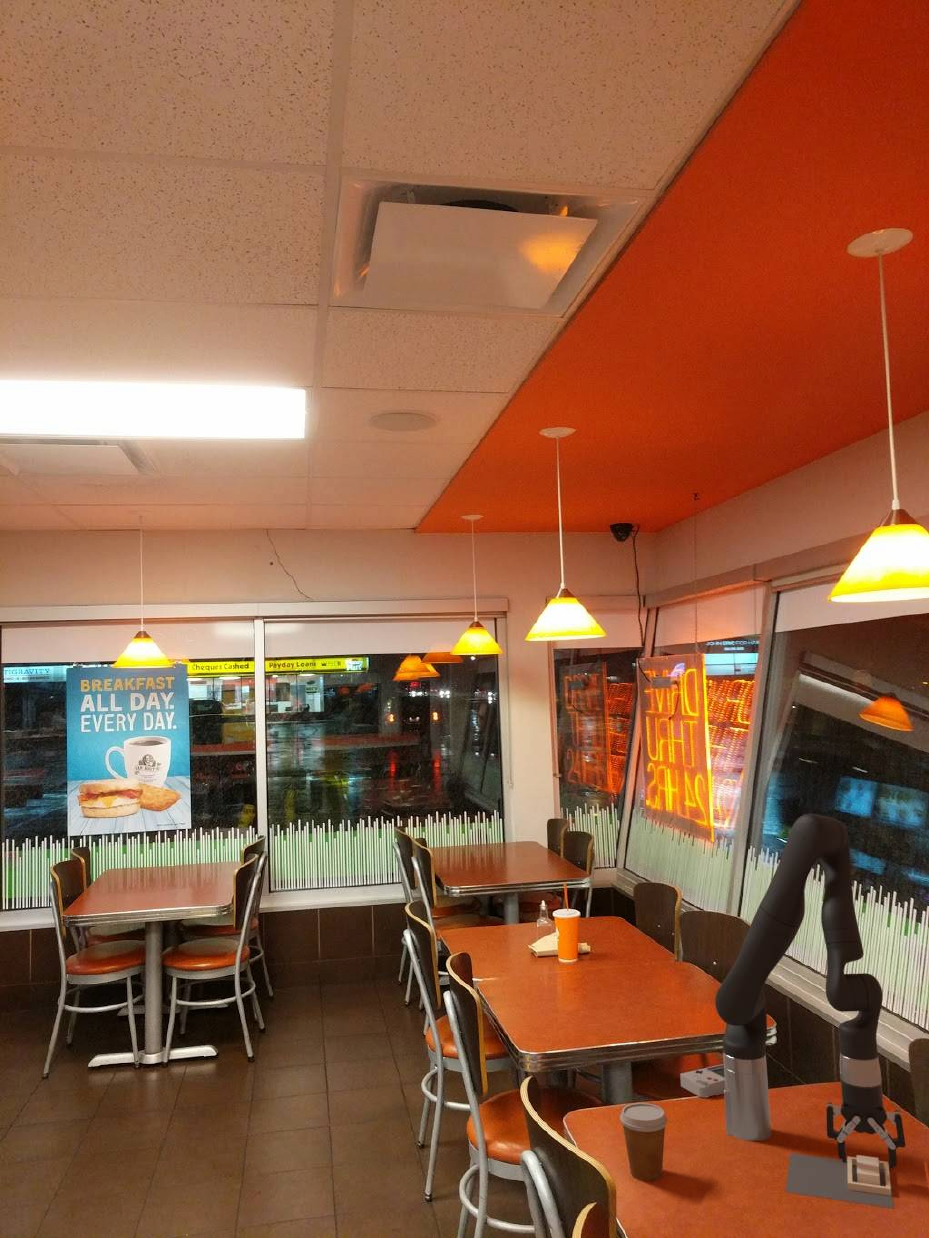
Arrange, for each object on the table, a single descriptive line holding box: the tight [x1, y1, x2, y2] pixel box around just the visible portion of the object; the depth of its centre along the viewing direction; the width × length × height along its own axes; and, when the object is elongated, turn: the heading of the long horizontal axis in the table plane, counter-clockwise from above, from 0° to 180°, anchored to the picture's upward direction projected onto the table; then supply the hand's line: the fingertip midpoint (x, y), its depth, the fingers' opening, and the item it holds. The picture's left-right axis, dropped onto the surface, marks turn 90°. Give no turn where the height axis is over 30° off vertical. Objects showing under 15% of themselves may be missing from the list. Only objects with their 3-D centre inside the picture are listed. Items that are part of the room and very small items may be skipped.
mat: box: [785, 1152, 895, 1210], centre depth 180 cm, size 19×17×2 cm
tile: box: [856, 1154, 880, 1186], centre depth 179 cm, size 8×4×2 cm, turn 157°
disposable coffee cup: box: [619, 1102, 668, 1182], centre depth 186 cm, size 10×10×12 cm
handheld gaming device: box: [679, 1063, 725, 1099], centre depth 228 cm, size 9×15×4 cm, turn 114°
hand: (867, 1163), depth 180 cm, fingers open, 8 cm apart
